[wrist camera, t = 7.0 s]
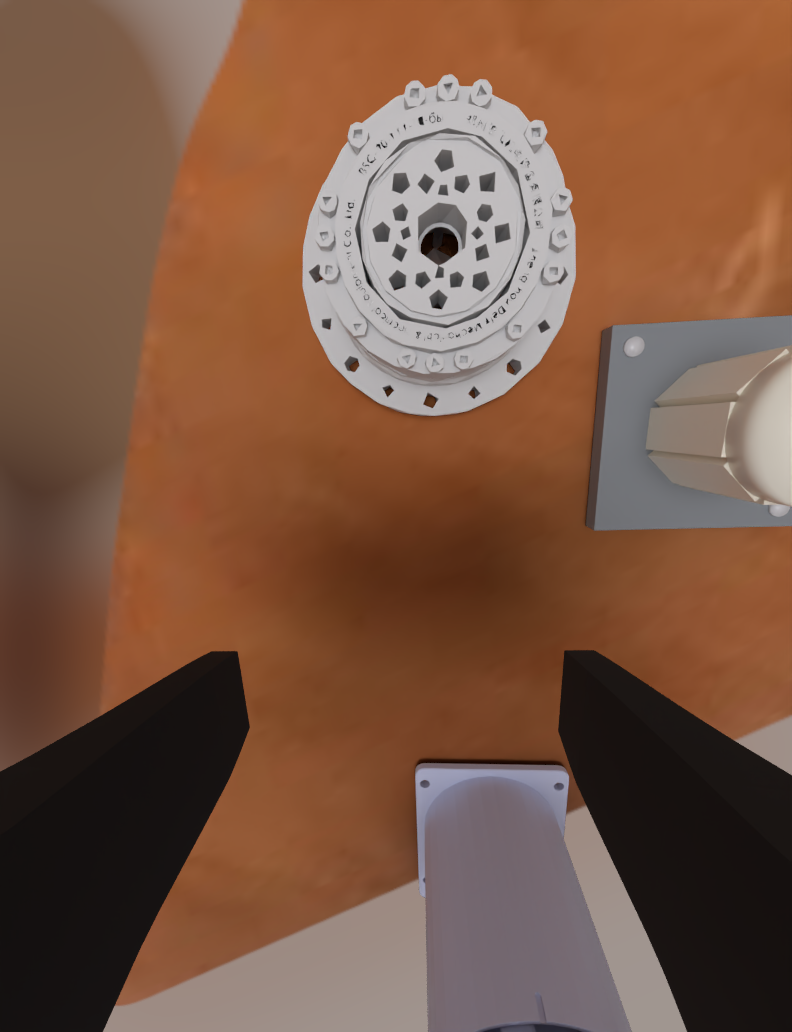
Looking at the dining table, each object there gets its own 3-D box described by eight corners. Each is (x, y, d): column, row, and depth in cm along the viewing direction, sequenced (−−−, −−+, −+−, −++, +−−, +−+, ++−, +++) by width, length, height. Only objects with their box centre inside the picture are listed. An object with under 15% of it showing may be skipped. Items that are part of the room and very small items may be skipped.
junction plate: (775, 521, 16) (890, 551, 12) (585, 525, 16) (637, 556, 13) (818, 318, 14) (970, 278, 10) (602, 330, 15) (669, 296, 11)
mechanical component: (545, 419, 16) (579, 135, 13) (593, 417, 12) (656, -1, 9) (315, 413, 16) (308, 138, 14) (279, 409, 12) (260, 10, 10)
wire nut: (759, 483, 15) (923, 511, 10) (640, 486, 15) (745, 514, 10) (783, 361, 14) (981, 327, 9) (656, 367, 14) (781, 336, 9)
